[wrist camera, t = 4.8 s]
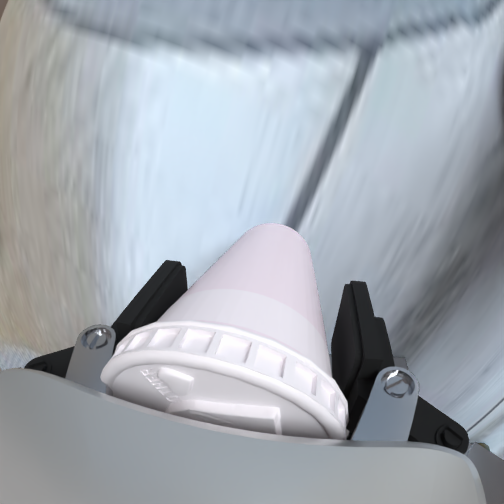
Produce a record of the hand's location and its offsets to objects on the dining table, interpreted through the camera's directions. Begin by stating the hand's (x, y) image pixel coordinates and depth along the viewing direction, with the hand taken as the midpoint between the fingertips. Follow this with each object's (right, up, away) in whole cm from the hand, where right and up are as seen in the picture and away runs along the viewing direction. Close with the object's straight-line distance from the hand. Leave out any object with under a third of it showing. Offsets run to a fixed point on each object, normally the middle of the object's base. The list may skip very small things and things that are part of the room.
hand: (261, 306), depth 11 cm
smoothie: (+1, +2, +4) cm, 4 cm away
